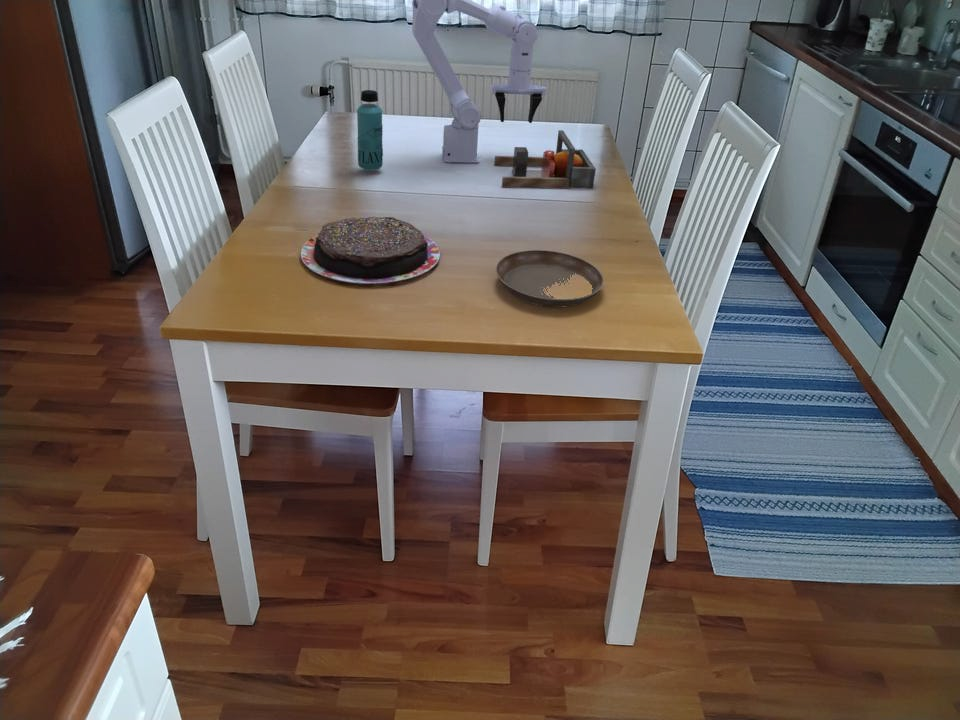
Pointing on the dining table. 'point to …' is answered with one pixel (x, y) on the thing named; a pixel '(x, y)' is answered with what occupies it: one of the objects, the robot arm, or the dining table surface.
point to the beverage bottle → (369, 132)
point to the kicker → (522, 160)
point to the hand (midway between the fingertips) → (516, 121)
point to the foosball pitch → (574, 178)
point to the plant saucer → (545, 275)
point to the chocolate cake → (370, 252)
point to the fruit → (564, 163)
